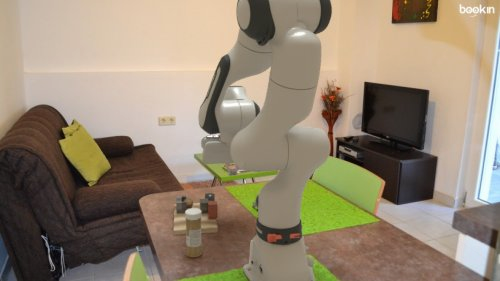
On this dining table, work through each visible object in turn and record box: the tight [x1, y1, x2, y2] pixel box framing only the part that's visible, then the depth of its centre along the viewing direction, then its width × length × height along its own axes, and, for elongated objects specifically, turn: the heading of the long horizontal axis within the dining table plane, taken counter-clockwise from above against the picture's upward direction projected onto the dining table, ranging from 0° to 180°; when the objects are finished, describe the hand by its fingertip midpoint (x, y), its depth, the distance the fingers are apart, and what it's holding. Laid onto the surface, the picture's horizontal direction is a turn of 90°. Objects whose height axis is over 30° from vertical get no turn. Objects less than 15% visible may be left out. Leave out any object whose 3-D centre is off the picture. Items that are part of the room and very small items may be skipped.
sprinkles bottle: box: [185, 208, 203, 258], centre depth 113 cm, size 5×5×14 cm
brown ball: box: [183, 197, 194, 208], centre depth 142 cm, size 4×4×4 cm
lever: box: [199, 192, 218, 219], centre depth 141 cm, size 16×6×5 cm, turn 10°
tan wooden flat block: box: [173, 195, 219, 236], centre depth 138 cm, size 23×15×6 cm, turn 10°
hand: (232, 175), depth 134 cm, fingers closed
